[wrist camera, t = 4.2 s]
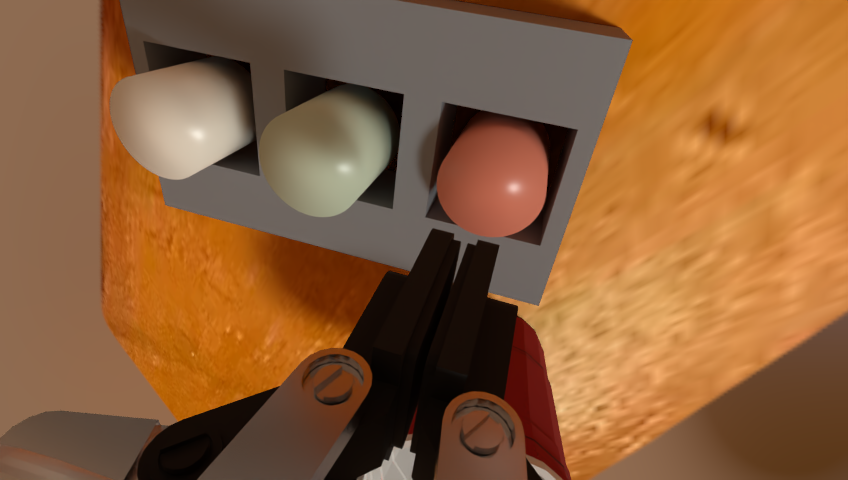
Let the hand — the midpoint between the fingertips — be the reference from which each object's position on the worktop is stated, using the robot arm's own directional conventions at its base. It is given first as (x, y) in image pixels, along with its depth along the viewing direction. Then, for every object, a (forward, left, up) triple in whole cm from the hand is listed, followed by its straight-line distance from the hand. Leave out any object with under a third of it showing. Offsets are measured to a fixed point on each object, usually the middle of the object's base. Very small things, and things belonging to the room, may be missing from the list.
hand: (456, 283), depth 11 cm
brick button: (+1, 0, -12) cm, 12 cm away
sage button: (+1, -7, -11) cm, 13 cm away
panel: (+1, -7, -13) cm, 15 cm away
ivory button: (+1, -14, -11) cm, 18 cm away
